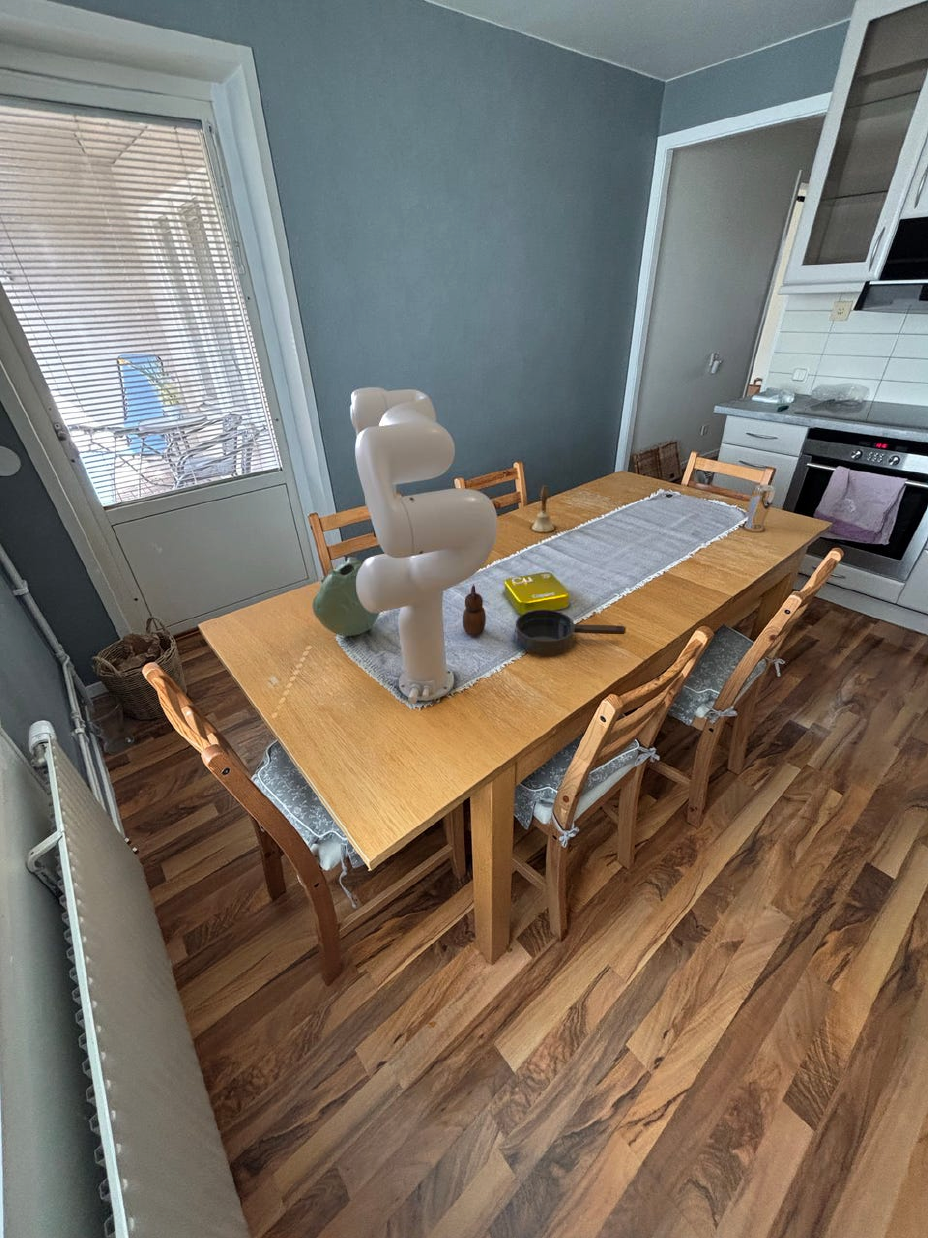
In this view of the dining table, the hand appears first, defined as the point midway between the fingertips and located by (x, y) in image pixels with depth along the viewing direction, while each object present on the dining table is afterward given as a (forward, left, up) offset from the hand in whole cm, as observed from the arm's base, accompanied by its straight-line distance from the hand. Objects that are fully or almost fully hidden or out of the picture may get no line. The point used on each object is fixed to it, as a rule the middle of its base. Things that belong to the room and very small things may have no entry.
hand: (387, 528), depth 115 cm
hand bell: (+74, -38, -31) cm, 89 cm away
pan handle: (+1, -50, -27) cm, 57 cm away
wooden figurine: (+3, -19, -31) cm, 36 cm away
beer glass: (+75, -113, -31) cm, 139 cm away
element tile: (+21, -35, -31) cm, 51 cm away
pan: (+1, -37, -30) cm, 48 cm away
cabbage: (+2, +13, -31) cm, 33 cm away
